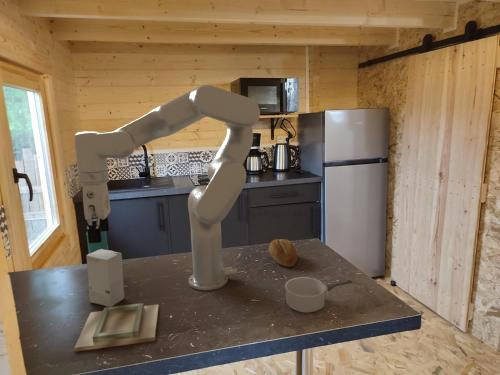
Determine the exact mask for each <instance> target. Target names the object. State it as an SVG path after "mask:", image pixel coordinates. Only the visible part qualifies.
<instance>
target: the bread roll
mask: <svg viewBox="0 0 500 375" xmlns="http://www.w3.org/2000/svg"><path fill="white" fill-rule="evenodd" d="M268 253H269V255H270V256H271V258H272V259H273V260H274V261H275V262H276V263H278V264H279V265H281V266H282V267H290V268H291V267H293V266H294V265H295V264H296V262H297V260H298V251H297V249H296V247H295V245H294V244H293V243H292V241H290V240H289V239H286V238H285V239H284V238H281V239H280V238H275V239H273V240H271V242H270V243H269V246H268Z"/></svg>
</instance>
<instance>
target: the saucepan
mask: <svg viewBox="0 0 500 375" xmlns="http://www.w3.org/2000/svg"><path fill="white" fill-rule="evenodd" d="M353 282H354V281H353V280H352V279H346V280H340V281H335V282H332V283H327V284H326V283H324V282H323V281H320V280H319V279H317V278H314V277H305V276H301V277H300V276H299V277H295V278H294V277H293V278H291V279H289V280H288V281H286V282H285V284H284V288H285V291H286V292H285V294H286V295H285V301H286V304H287V306H288V307H289V308H290V309H293V310H295V311H297V312H301V313H313V312H318V311H320V310H321V309H323V307H324V306H325V297H326V296H325V292H330V291H331V290H333V289H334V288H336V287H340V286H345V285H350V284H353Z"/></svg>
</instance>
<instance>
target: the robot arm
mask: <svg viewBox="0 0 500 375" xmlns="http://www.w3.org/2000/svg"><path fill="white" fill-rule="evenodd" d="M207 117H208V118H211V119H214V120H217V121H219V122H222V123H225V125H226V134H225V139H224V140H223V142H222V144H221V146H220V148H219V149H218V151H217V153H216V155H215V156H214V158H213V159H212V160H211V163H209V166H208V167H207V168H208V169H207V178H208V180H209V182H208V185H199V186H196V187H195V188H193V189H192V190H191V192H190V193H189V195H188V198H187V208H188V210H187V211H188V215H189V224H190V242H191V258H192V274H191V275H190V276H189V278H188V285H189V286H190V287H191V288H192V289H195V290H199V291H213V290H214V291H215V290H216V289H219V288H222V287H224V286H225V285H226V284H227V283H228V280H229V279H228V278H229V277H230V276H237V275H238V269H237V268H233V267H232V266H228V267H226V266H224V263H223V250H222V249H223V247H222V246H223V244H222V223H221V222H222V221H223V220H224V219H226V217H227V215H228V214H229V212H230V211H231V209H232V208H233V206H234V204H235V202H236V200H237V199H238V197H239V196H240V194H241V193H242V191H243V189H244V186H245V184H246V180H247V171H246V168H245V166H244V163H245V160H246V159H247V156H248V155H249V153H250V151H251V149H252V146H253V143H254V131H253V127H254V126H255V125H256V124H257V123H258V122H259V120H260V117H261V110H260V107H259V105H258V103H257V102H256V101H255V100H254V99H252V98H250V97H247V96H245V95H242V94H241V95H240V94H238V93H234V92H232V91H229V90H225V89H223V88H220V87H217V86H214V85H209V84H204V85H200V86H198V87H196V88H193V89H191V90H189V91H188V92H185V93H184V94H181V95H179V96H177V97H176V98H173V99H172V100H170V101H168V102H165V103H164V104H162V105H159V106H157V107H156V108H154V109H152V110H151V111H150V112H148V113H146V114H144V115H143V116H141V117H139V118H137V119H135V120H133V121H131V122H130V123H126V125H124V126H121V127H119V128H117V129H115V130H114V131H111V132H101V131H79V132H77V133H75V135H74V148H75V156H76V157H75V158H76V166H77V167H76V168H77V175H78V176H77V177H78V185H82V201H83V202H82V204H83V214H84V218H85V220H86V225H87V226H86V232H87V231H88V241H89V243H100V242H101V241H102V239H101V232H102V231H106V232H109V230H110V225H109V217H108V216H109V214H110V213H111V209H112V208H111V203H110V195H109V187H108V184H107V183H109V182H110V181H109V179H110V178H109V172H108V167H109V166H108V159H116V160H117V159H118V160H119V159H120V160H122V159H127V158H130V156H132V155H133V154H134V152H135V150H137V149H138V148H141V147H142V146H145V145H146V144H148V143H151V142H153V141H155V140H157V139H161V138H165V137H169V136H171V135H174V134H176V133H177V132H180V131H181V130H183V129H186V128H187V127H189V126H191V125H193V124H195V123H197V122H198V121H200V120H203V119H204V118H207ZM95 221H96V223H95ZM228 276H229V277H228Z"/></svg>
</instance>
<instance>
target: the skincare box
mask: <svg viewBox="0 0 500 375" xmlns="http://www.w3.org/2000/svg"><path fill="white" fill-rule="evenodd" d="M122 254H123V253H122V252H117V251H113V250H111V249H110V250H109V249H108V250H103V249H99V250H97V251H95V252H93V253H90V254H89V253H88V254H85V255H86V266H87V282H88V283H87V284H88V294H89V302H90V303H92V304H97V305H102V306H105V307H114V306H115V305H117V304H118V303H119V302H121V301H122V300H124V299H125V288H124V273H123V272H124V271H123V255H122Z"/></svg>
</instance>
